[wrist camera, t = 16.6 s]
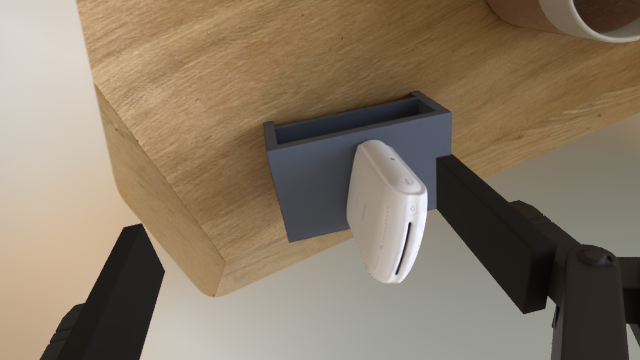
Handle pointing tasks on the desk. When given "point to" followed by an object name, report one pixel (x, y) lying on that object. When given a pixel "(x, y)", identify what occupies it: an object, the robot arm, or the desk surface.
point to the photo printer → (385, 211)
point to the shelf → (349, 158)
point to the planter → (575, 17)
